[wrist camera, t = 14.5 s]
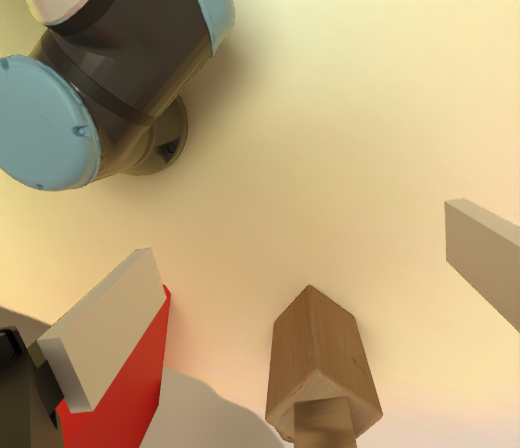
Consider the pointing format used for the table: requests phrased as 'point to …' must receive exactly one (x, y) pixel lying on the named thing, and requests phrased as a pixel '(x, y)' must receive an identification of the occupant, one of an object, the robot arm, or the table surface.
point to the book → (123, 396)
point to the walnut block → (323, 424)
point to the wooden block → (319, 363)
